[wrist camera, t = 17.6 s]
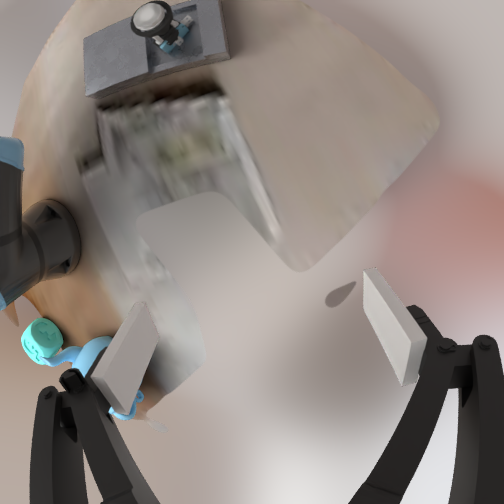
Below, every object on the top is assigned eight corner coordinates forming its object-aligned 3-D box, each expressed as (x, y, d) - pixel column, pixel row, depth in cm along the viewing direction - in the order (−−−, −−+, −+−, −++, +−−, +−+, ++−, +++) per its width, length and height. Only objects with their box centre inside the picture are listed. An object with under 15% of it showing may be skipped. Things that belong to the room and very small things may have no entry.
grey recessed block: (98, 98, 38) (85, 96, 34) (95, 43, 34) (83, 38, 31) (230, 59, 35) (226, 51, 31) (221, 1, 31) (216, -10, 28)
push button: (180, 13, 31) (155, -16, 22) (206, 27, 32) (185, -2, 22) (151, 45, 33) (118, 24, 24) (175, 61, 34) (146, 40, 24)
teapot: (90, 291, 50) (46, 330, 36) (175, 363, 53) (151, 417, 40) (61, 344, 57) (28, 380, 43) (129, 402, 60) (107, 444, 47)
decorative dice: (59, 351, 58) (41, 370, 50) (37, 329, 56) (18, 345, 49) (67, 336, 55) (48, 355, 48) (43, 312, 54) (23, 329, 46)
